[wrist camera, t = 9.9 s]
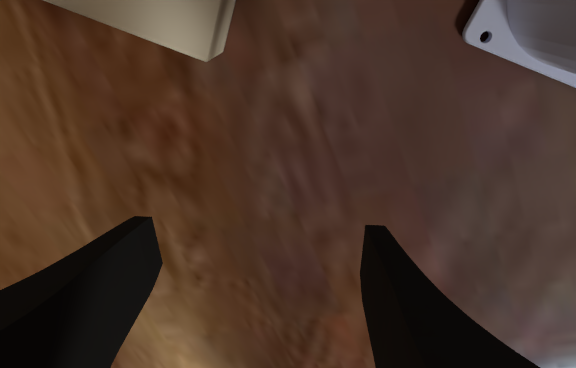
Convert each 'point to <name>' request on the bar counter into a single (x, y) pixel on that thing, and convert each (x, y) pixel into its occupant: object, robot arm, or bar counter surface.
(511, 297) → the bar counter surface
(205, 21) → the birch block
